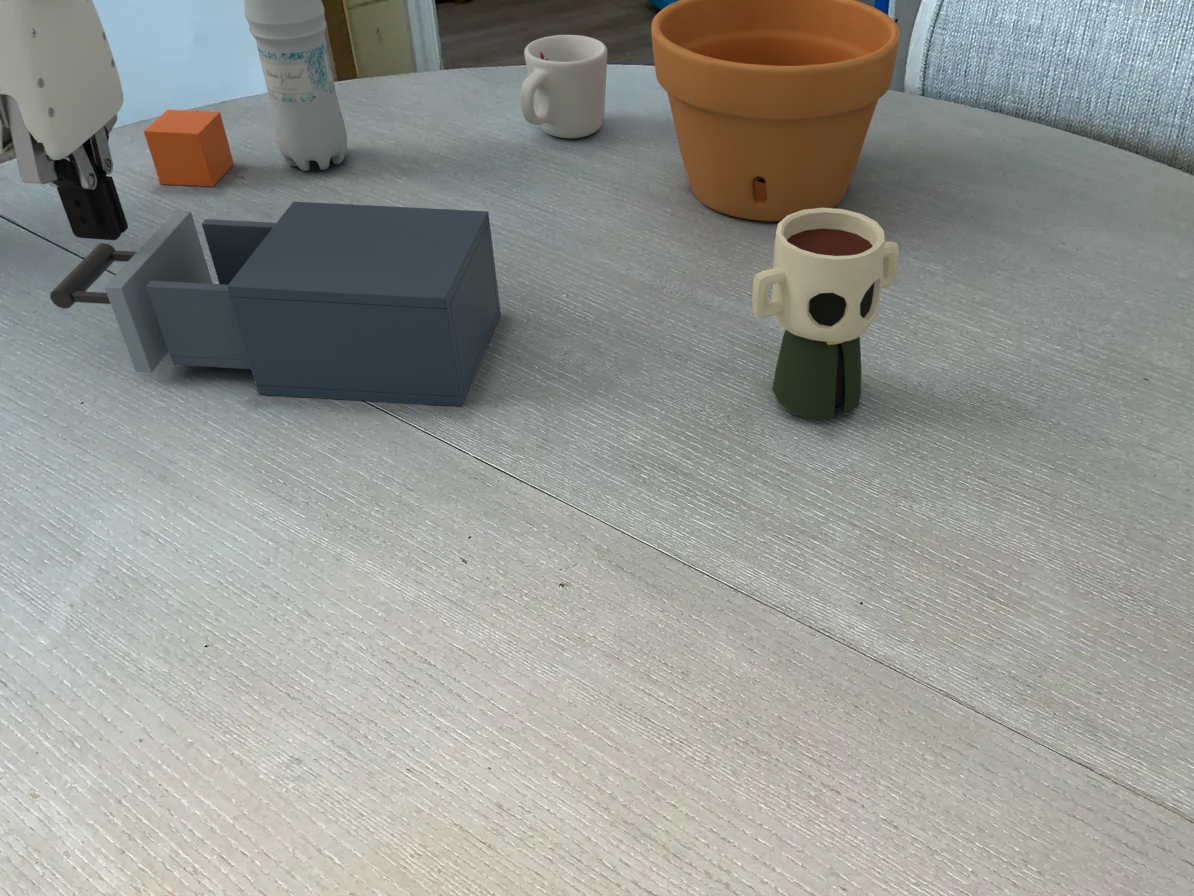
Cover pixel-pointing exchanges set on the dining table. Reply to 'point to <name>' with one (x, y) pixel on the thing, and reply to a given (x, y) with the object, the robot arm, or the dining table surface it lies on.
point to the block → (189, 147)
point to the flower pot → (772, 97)
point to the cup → (565, 85)
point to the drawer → (173, 292)
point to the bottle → (299, 80)
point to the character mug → (823, 304)
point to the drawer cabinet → (369, 303)
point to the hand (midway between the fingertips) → (102, 233)
